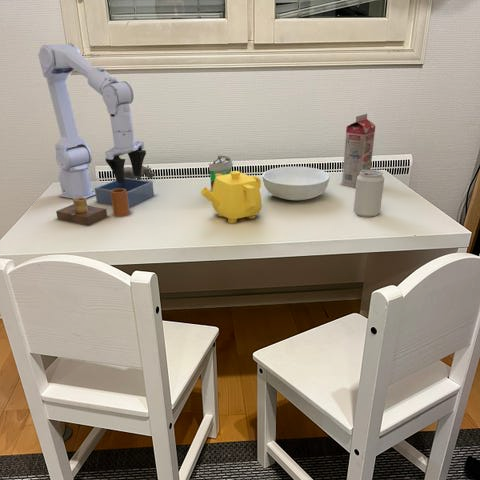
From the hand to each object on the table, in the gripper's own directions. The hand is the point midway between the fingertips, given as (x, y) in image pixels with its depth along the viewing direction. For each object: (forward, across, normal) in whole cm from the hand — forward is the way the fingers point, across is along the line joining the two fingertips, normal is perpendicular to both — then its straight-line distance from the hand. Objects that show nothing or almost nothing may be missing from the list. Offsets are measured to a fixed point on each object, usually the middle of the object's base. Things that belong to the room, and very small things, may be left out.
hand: (129, 179), depth 147 cm
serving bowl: (+10, +33, -39) cm, 52 cm away
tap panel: (+10, -11, +10) cm, 18 cm away
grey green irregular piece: (+10, +30, -15) cm, 34 cm away
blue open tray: (+10, +8, +10) cm, 16 cm away
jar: (+10, -3, +2) cm, 10 cm away
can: (+10, +27, -64) cm, 70 cm away
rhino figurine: (+10, +25, +18) cm, 32 cm away
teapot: (+10, +8, -29) cm, 32 cm away
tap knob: (+7, -12, +9) cm, 17 cm away
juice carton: (+10, +54, -52) cm, 76 cm away
